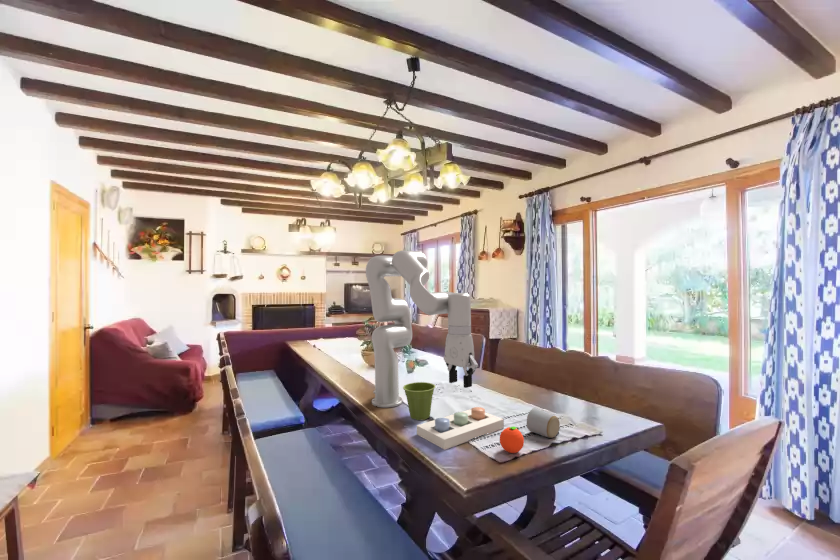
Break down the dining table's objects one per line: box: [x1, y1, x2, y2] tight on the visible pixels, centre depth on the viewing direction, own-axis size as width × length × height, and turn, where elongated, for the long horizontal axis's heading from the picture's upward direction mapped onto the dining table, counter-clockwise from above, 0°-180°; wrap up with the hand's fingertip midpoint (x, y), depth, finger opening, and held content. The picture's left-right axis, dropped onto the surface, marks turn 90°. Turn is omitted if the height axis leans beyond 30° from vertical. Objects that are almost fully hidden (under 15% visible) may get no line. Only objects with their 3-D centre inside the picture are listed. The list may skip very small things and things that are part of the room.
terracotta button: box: [470, 406, 486, 421], centre depth 132 cm, size 5×5×3 cm
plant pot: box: [402, 381, 436, 421], centre depth 140 cm, size 12×12×11 cm
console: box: [416, 408, 505, 450], centre depth 127 cm, size 14×26×3 cm, turn 126°
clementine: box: [499, 426, 525, 454], centre depth 112 cm, size 8×7×7 cm
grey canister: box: [526, 407, 561, 439], centre depth 124 cm, size 11×8×8 cm
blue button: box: [434, 417, 450, 433], centre depth 122 cm, size 5×5×3 cm
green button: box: [453, 411, 468, 427], centre depth 127 cm, size 5×5×3 cm
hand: (460, 384), depth 127 cm, fingers open, 6 cm apart
